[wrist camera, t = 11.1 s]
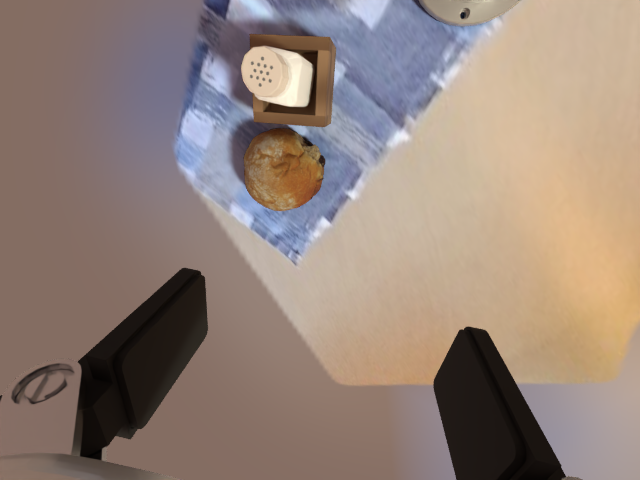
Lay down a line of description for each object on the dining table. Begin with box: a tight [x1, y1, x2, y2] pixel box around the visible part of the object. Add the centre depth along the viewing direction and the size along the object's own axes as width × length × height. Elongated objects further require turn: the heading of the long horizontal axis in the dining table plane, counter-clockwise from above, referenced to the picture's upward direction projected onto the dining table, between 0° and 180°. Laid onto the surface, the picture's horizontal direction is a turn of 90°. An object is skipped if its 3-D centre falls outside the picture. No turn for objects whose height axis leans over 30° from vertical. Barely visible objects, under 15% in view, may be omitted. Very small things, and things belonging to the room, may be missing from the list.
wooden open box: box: [250, 34, 336, 127], centre depth 29 cm, size 7×7×6 cm
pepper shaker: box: [241, 46, 315, 107], centre depth 24 cm, size 4×4×10 cm
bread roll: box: [244, 128, 325, 211], centre depth 34 cm, size 10×10×8 cm
